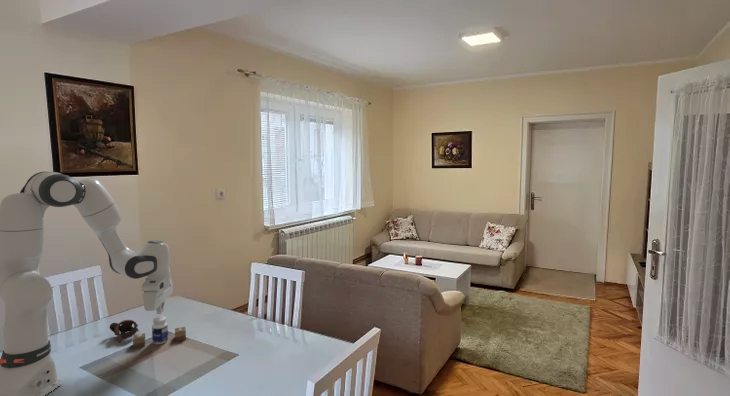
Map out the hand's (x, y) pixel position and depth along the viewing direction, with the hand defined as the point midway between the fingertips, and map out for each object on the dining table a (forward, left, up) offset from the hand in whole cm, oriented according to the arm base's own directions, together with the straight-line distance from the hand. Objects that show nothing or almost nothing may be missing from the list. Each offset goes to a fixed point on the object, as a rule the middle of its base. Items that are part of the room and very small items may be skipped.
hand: (160, 312), depth 164 cm
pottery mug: (+5, +17, -13) cm, 21 cm away
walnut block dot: (-3, +7, -12) cm, 15 cm away
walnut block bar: (+3, -7, -12) cm, 14 cm away
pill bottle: (0, 0, -13) cm, 13 cm away
